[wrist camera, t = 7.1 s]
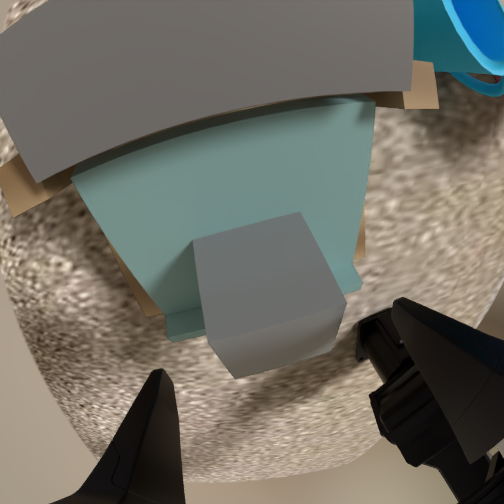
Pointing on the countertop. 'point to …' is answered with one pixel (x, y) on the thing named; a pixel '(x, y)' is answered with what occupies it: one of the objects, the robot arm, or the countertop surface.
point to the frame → (31, 193)
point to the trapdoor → (205, 121)
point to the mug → (462, 40)
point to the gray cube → (267, 295)
